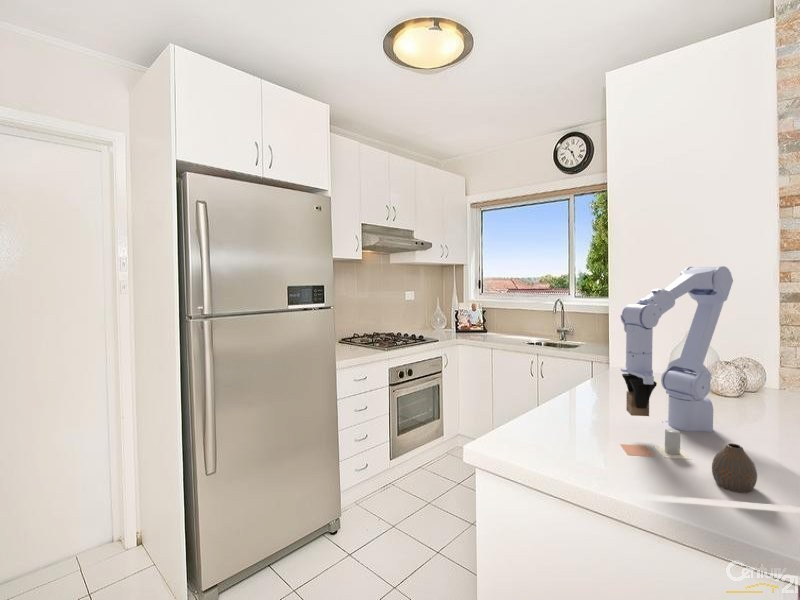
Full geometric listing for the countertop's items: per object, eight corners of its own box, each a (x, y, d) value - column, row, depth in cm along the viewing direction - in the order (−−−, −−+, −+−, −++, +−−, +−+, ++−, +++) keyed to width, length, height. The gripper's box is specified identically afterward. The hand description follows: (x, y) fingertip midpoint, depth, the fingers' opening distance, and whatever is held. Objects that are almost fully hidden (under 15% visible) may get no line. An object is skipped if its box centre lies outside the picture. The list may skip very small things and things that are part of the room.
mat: (678, 449, 100) (678, 445, 100) (693, 464, 92) (694, 461, 92) (618, 445, 103) (618, 442, 103) (628, 460, 95) (628, 456, 95)
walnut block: (643, 410, 108) (643, 391, 107) (649, 416, 104) (649, 396, 103) (626, 410, 108) (626, 391, 108) (631, 415, 105) (631, 395, 104)
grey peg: (676, 450, 98) (677, 429, 97) (682, 455, 95) (682, 434, 95) (662, 449, 98) (662, 428, 98) (667, 454, 96) (668, 433, 95)
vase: (702, 481, 85) (703, 439, 84) (734, 479, 86) (735, 437, 85) (732, 500, 78) (733, 454, 78) (766, 497, 79) (768, 452, 78)
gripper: (613, 346, 113) (613, 395, 114) (630, 357, 99) (630, 413, 100) (642, 346, 111) (641, 396, 112) (664, 358, 97) (663, 415, 98)
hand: (638, 404), depth 106 cm, fingers closed on walnut block, 4 cm apart
